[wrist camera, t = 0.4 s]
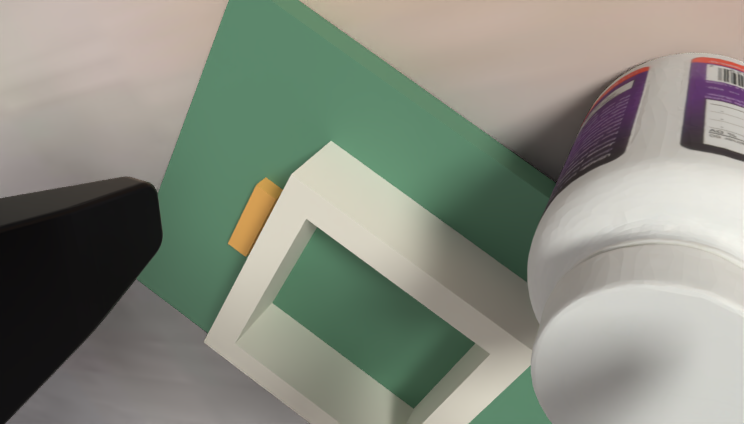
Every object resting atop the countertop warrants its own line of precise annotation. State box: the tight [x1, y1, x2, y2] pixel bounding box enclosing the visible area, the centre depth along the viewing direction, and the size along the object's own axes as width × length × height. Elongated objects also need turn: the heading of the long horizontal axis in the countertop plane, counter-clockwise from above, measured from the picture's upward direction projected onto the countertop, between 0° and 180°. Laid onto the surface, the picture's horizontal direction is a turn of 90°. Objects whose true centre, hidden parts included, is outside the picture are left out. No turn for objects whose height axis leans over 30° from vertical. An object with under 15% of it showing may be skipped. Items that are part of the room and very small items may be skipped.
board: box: [136, 0, 556, 424], centre depth 24 cm, size 18×14×4 cm
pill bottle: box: [527, 53, 744, 424], centre depth 15 cm, size 5×5×10 cm
